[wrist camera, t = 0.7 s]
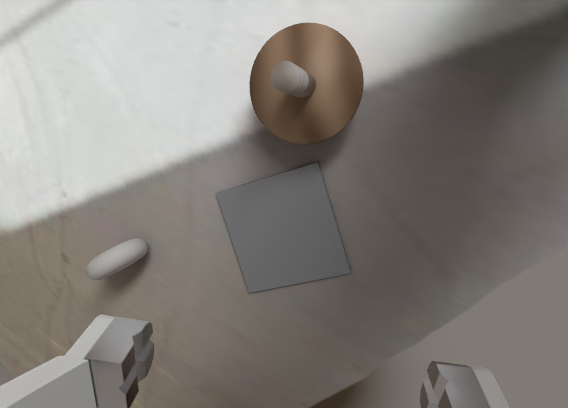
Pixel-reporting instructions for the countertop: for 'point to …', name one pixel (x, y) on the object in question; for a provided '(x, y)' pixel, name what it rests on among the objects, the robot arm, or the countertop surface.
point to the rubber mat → (284, 229)
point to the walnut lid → (306, 83)
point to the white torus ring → (116, 259)
